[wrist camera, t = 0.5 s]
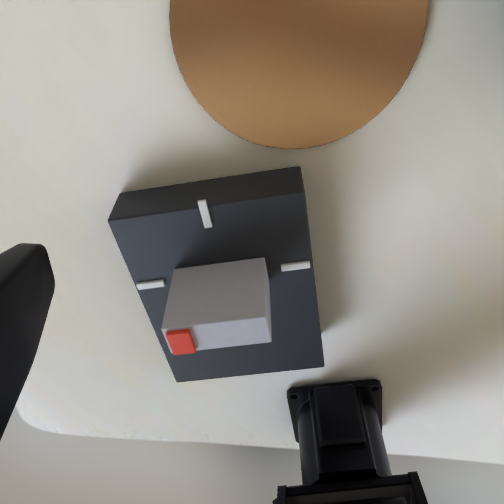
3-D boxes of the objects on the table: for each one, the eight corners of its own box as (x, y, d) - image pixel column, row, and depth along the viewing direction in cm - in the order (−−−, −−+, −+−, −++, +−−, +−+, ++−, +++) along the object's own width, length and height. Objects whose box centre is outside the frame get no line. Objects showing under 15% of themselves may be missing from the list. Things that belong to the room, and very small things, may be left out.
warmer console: (319, 335, 29) (325, 369, 27) (181, 351, 30) (176, 385, 28) (299, 158, 22) (304, 186, 20) (116, 186, 23) (102, 216, 21)
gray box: (264, 256, 22) (266, 320, 19) (269, 281, 23) (272, 347, 20) (173, 268, 23) (159, 333, 19) (181, 292, 24) (170, 358, 20)
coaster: (419, 127, 21) (421, 130, 21) (203, 160, 22) (202, 164, 22) (434, -167, 15) (438, -168, 15) (136, -101, 16) (134, -102, 16)
